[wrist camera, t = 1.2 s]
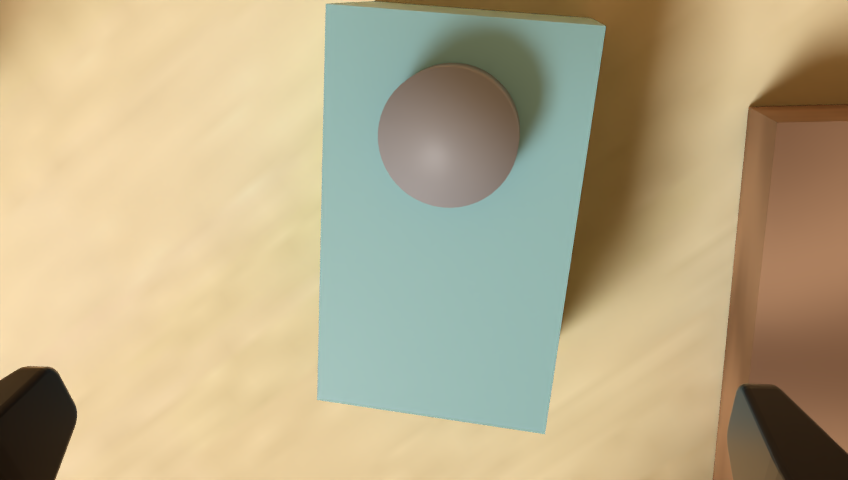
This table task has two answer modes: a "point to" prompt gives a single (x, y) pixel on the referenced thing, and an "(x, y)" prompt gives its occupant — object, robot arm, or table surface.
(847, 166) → the walnut stand
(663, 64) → the table surface
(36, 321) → the table surface
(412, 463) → the table surface
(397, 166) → the teal housing
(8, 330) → the table surface
